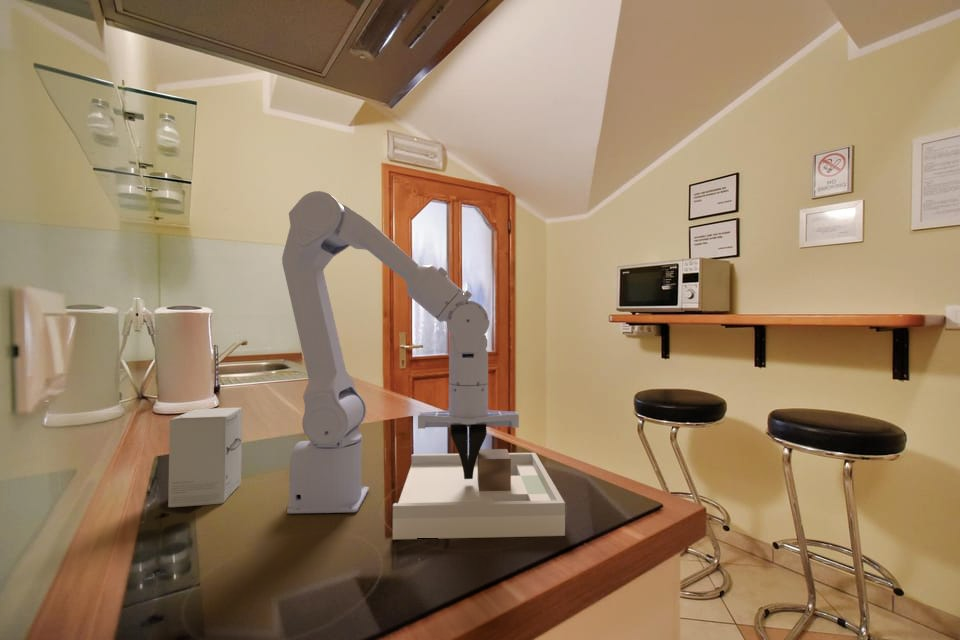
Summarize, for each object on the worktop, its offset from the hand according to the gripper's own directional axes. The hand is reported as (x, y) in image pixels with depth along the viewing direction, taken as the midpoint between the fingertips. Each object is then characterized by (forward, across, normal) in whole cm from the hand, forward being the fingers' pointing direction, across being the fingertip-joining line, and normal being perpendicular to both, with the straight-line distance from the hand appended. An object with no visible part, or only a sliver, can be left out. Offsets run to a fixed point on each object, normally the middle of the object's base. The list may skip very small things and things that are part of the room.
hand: (468, 476), depth 60 cm
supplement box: (+4, -39, +4) cm, 40 cm away
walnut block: (+1, +4, 0) cm, 4 cm away
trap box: (+4, +1, 0) cm, 4 cm away
